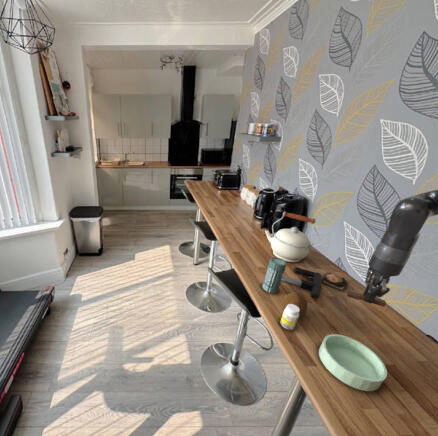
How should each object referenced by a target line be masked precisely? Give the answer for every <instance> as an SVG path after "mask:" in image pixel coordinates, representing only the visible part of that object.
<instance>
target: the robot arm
mask: <svg viewBox="0 0 438 436" xmlns="http://www.w3.org/2000/svg"><path fill="white" fill-rule="evenodd" d="M435 216H438V189H435V190H434V189H433V190H430V191H426V192H421V193H418V194H414V195H411V196H408V197H406V198H403V199H401V200H399V202H397V204H395V206H394V208H393V210H392V212H391V215H390V218H389V222H388V226H387V228H386V230H385V232H384V233H383V235H382V237H381V239H380V241H379V243H378V244H377V245H376V247H375V249H374V251H373V253H372V255H371V257H370V259H369V261H368V268H367V272H366V277H365V281H364V283H365V289H364V291H363V293H362V294H364V295H366V296H365V298H364V301H363V302H365V303H368V304H373V301H374V299H375V298H382V297H384V296H385V295H386V294H388V293H389V292H390V290H391V288H390V287H387V285H388V284H389V283H390V281H391V277H398V276H400V275H401V273H402V271H403V270H404V268H405V266H406V265H407V263H408V261H409V259H410V258H411V256H412V252H413V249H414V248H415V246H416V244H417V242H419V239H420V235H421V233H420V232H421V230H422V229H423V227H424V225H425V223H426V222H427V220H428V219H429V218H431V217H435Z"/></svg>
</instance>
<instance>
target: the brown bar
mask: <svg viewBox="0 0 438 436" xmlns="http://www.w3.org/2000/svg"><path fill="white" fill-rule="evenodd" d="M345 294H346V297H347V298H350V299H353V300H357V301H358V300H360V301H363V302H365V301H364V298H365V296H366V295H364V294H363V293H361V292H355V291H351V290H348V289H346V290H345ZM372 304H373V305H377V306H380V307H382V308H383V307H384V308H385V306H386V305H387V301H386V300H385V299H381V298H379V297H376V298H375V299H374V301H373V303H372Z"/></svg>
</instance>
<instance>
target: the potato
mask: <svg viewBox="0 0 438 436" xmlns="http://www.w3.org/2000/svg"><path fill="white" fill-rule="evenodd" d="M288 304H294V305H296V306H297V307H298V308H299V309H300V311H299V318H298V319H300V318H303V317H304V316H305V314H306V312H307V309H308V301H307V299H306V298H305V296H304V295H303V294H301V293H299V292H295V291H293V292H290V293H288V294H287V295H286V297H285V298H284V299H283V305H284V309H285V308H286V307H287V305H288Z"/></svg>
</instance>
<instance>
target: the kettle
mask: <svg viewBox="0 0 438 436" xmlns="http://www.w3.org/2000/svg"><path fill="white" fill-rule="evenodd" d="M284 217H288V218H290V219H292V220H293V219H294V220H297V221H301V222H304V223H305V222H306V223H311V224H312V229H313V230H314V233H315V235H316V240H315V241H313V243H311V241H310V239H309V237H308V235H306V234H305V233H304V232H302V231H300V229H299V228H298V227H297V226H292V227H290V228H282V229H279V230H278V231H276V232H275V231H274V226H275V224H276V223H277V222H279V221H281V220H282V219H284ZM316 220H317V219H316V218H311V217H307V216H305V215H300V214H297V213H292V212H287V211H283V212H282V216H281V218H279V219H277V220H276V221H275V222H274V223H273V224H272V226H271V231H272V233H270V231H269V230H268V229H265V230H264V232H265V235H266V238H267V241H268V242H269V243H270V247H271V249H272V254H273V255H274V257H278V258H281V259H283V260H285V261H286V262H288V263H298V262H300V261H301V260H302V259H303V260H304V258H306V257H307V256H309V255H308V254H309V252H310V250H311V249H314V244H316V243H317V241H318V240H319V233H318V231H317V229H316V228H315V223H316V222H317V221H316Z"/></svg>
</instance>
